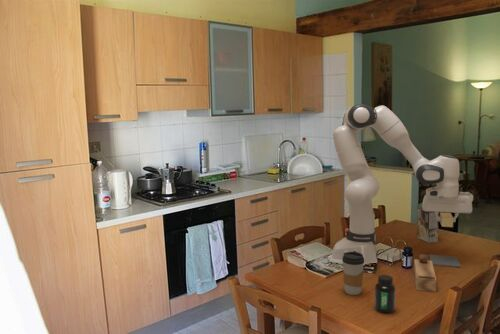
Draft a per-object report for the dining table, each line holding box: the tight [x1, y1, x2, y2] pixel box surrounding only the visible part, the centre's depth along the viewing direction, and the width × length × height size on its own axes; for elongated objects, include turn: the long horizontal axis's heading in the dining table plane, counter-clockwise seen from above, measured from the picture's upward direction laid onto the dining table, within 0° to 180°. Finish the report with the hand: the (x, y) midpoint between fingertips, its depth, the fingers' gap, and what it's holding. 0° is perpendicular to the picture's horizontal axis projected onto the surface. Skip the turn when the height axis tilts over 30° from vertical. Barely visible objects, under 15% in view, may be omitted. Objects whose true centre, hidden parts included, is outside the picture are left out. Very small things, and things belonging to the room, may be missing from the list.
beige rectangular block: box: [439, 212, 454, 228], centre depth 190 cm, size 4×9×4 cm, turn 162°
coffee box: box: [416, 207, 440, 244], centre depth 221 cm, size 9×6×16 cm
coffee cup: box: [342, 252, 364, 296], centre depth 164 cm, size 8×8×15 cm
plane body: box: [413, 253, 437, 293], centre depth 173 cm, size 7×20×8 cm, turn 162°
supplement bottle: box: [374, 274, 396, 314], centre depth 150 cm, size 7×7×12 cm
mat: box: [428, 253, 462, 269], centre depth 193 cm, size 12×12×1 cm
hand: (446, 221), depth 190 cm, fingers closed on beige rectangular block, 4 cm apart
